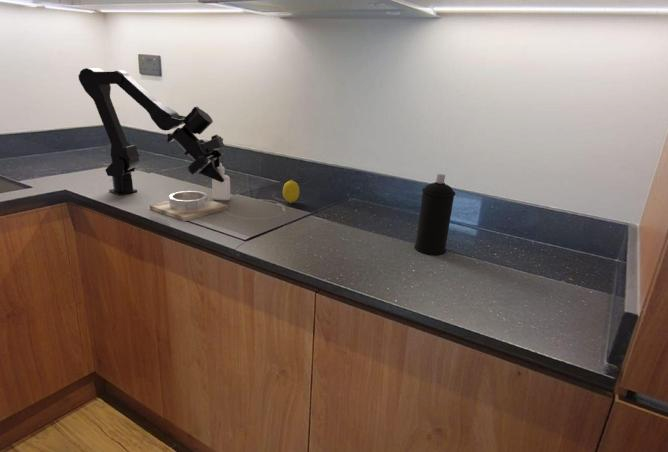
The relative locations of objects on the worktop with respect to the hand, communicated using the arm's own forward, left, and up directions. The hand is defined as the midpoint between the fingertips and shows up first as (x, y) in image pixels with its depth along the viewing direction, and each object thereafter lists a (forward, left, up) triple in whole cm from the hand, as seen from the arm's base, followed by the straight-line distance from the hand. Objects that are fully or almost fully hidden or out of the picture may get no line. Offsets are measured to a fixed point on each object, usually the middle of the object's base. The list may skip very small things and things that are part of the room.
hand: (225, 180), depth 140 cm
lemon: (+18, +12, -7) cm, 23 cm away
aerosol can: (+70, +6, -7) cm, 71 cm away
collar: (0, -15, -5) cm, 16 cm away
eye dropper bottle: (-1, -1, -7) cm, 7 cm away
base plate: (0, -15, -7) cm, 16 cm away
